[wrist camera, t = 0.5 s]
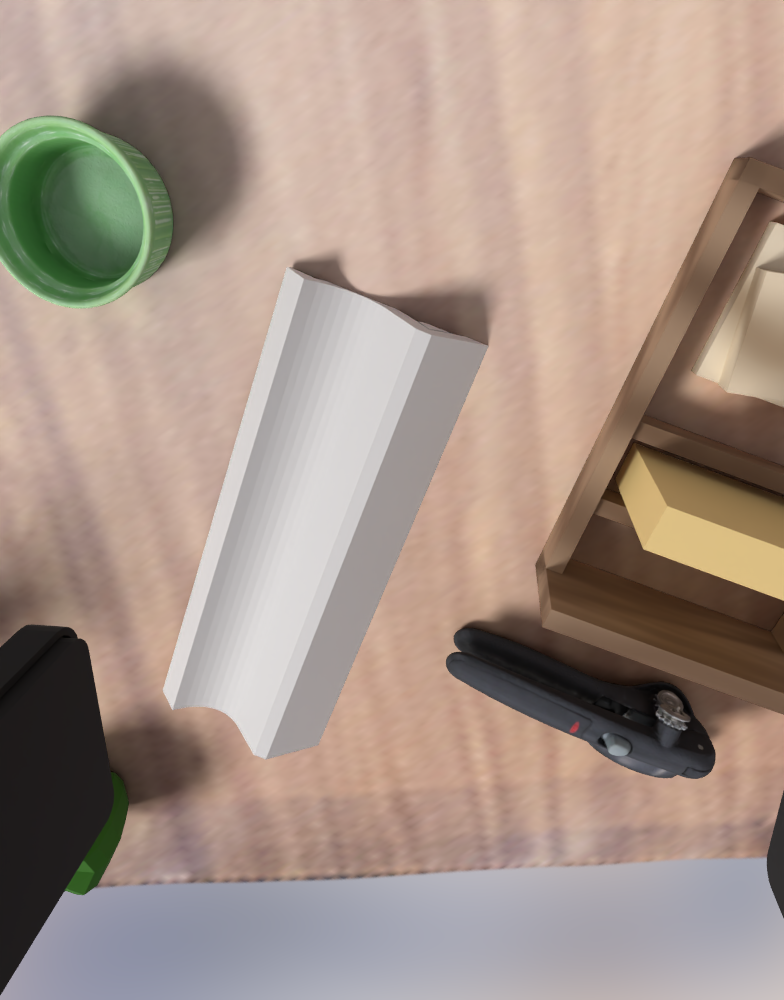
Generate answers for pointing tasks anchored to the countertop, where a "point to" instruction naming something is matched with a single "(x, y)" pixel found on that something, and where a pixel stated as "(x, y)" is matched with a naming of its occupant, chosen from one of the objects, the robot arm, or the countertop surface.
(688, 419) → the countertop surface
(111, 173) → the ramekin
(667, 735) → the can opener
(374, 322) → the crown molding
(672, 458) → the panel
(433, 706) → the countertop surface
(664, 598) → the rack
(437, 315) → the countertop surface
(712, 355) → the offcut lower
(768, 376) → the offcut upper
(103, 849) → the bell pepper
